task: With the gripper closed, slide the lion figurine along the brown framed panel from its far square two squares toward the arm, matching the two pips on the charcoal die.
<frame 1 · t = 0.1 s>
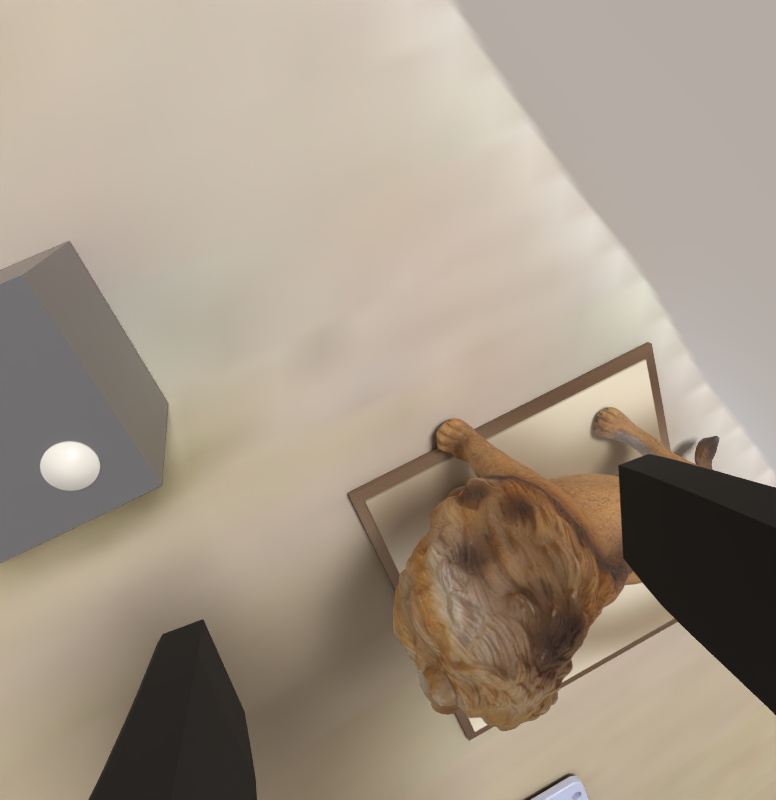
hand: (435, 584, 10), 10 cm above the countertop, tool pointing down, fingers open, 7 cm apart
brown framed panel: (548, 558, 24), on the countertop
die: (33, 366, 16), on the countertop
lion figurine: (521, 472, 22), resting on brown framed panel
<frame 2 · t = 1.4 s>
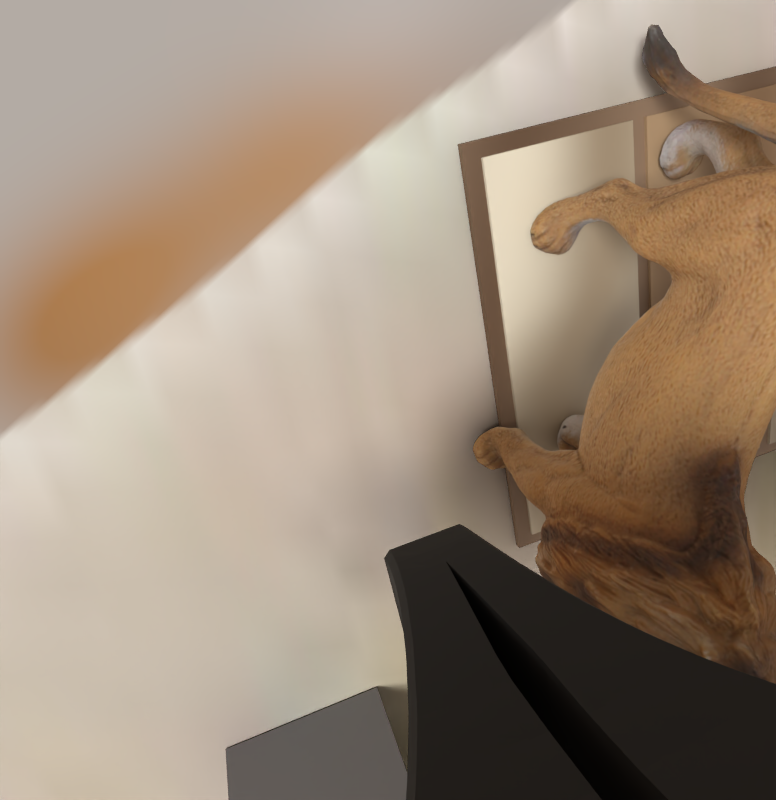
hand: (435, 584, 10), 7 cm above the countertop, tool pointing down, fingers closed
brown framed panel: (704, 305, 18), on the countertop
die: (322, 767, 21), on the countertop
lion figurine: (572, 349, 17), resting on brown framed panel
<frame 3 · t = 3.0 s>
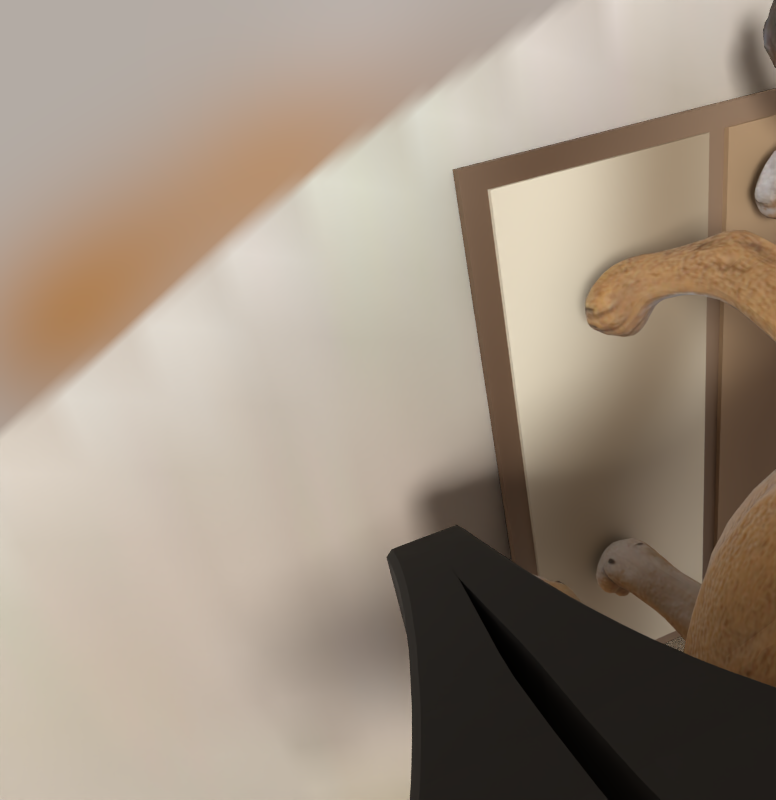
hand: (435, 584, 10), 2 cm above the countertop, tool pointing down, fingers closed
lion figurine: (620, 452, 12), resting on brown framed panel, touching gripper
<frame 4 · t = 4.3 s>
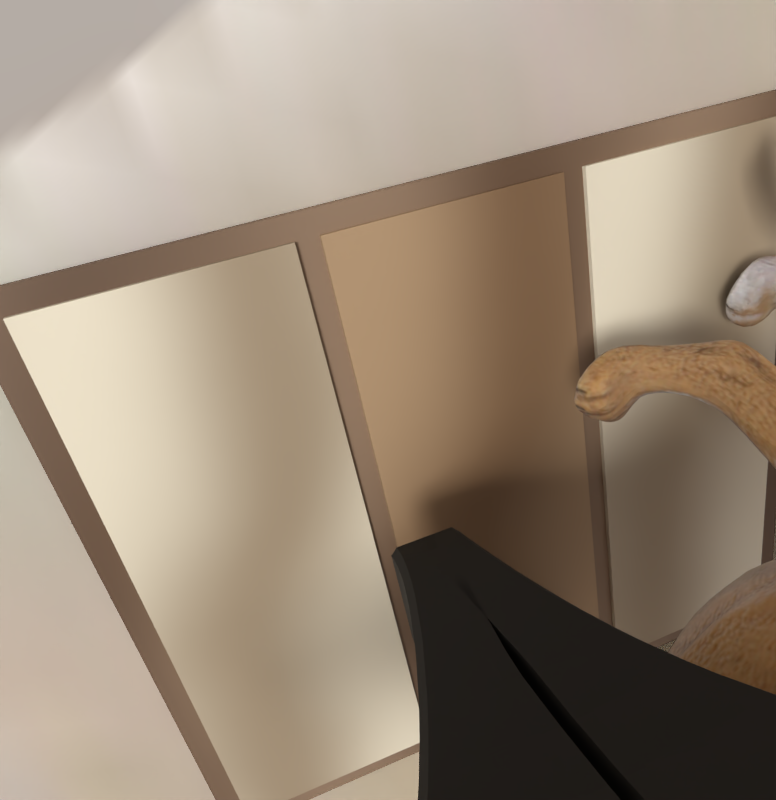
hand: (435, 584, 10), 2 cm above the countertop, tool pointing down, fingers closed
brown framed panel: (487, 490, 12), on the countertop
lion figurine: (563, 526, 12), point 1 cm above the countertop, touching brown framed panel, gripper
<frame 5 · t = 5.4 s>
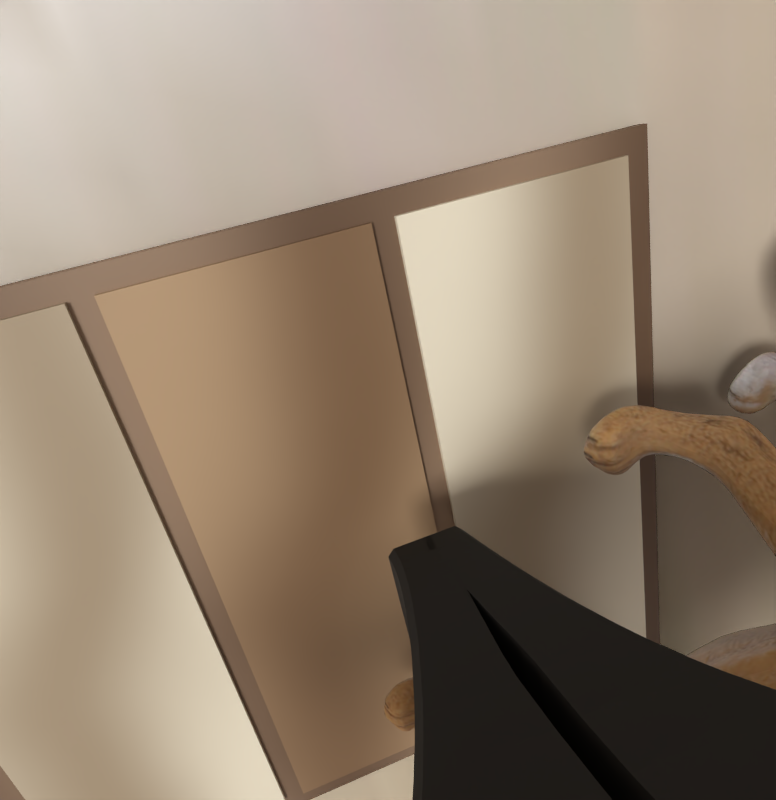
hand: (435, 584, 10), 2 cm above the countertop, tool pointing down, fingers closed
brown framed panel: (328, 548, 12), on the countertop
lion figurine: (543, 572, 13), point 1 cm above the countertop, touching brown framed panel, gripper
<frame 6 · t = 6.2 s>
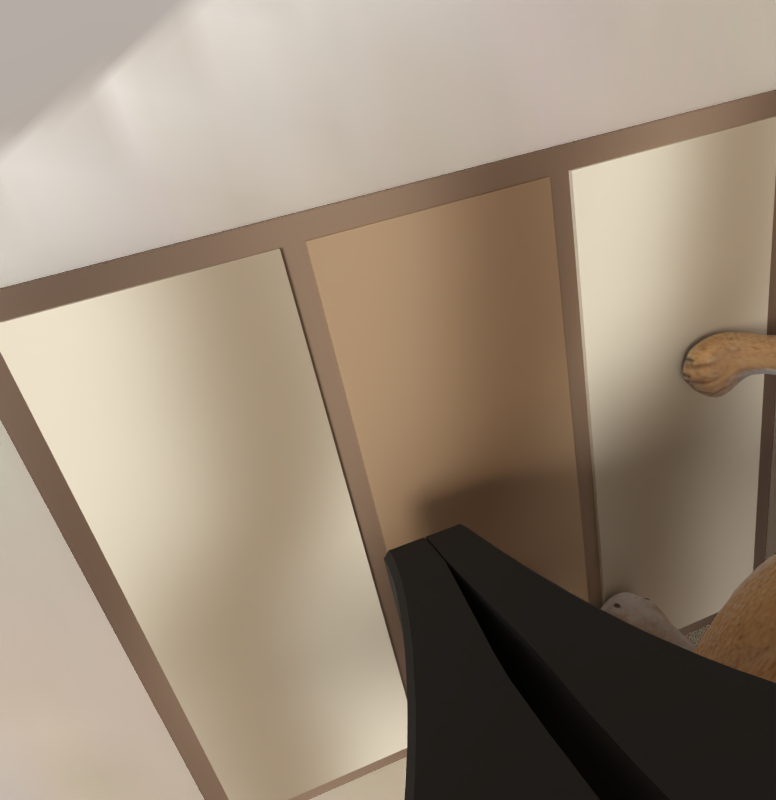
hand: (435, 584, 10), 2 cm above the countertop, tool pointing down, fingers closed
brown framed panel: (476, 494, 12), on the countertop
lion figurine: (656, 511, 14), resting on brown framed panel, touching gripper
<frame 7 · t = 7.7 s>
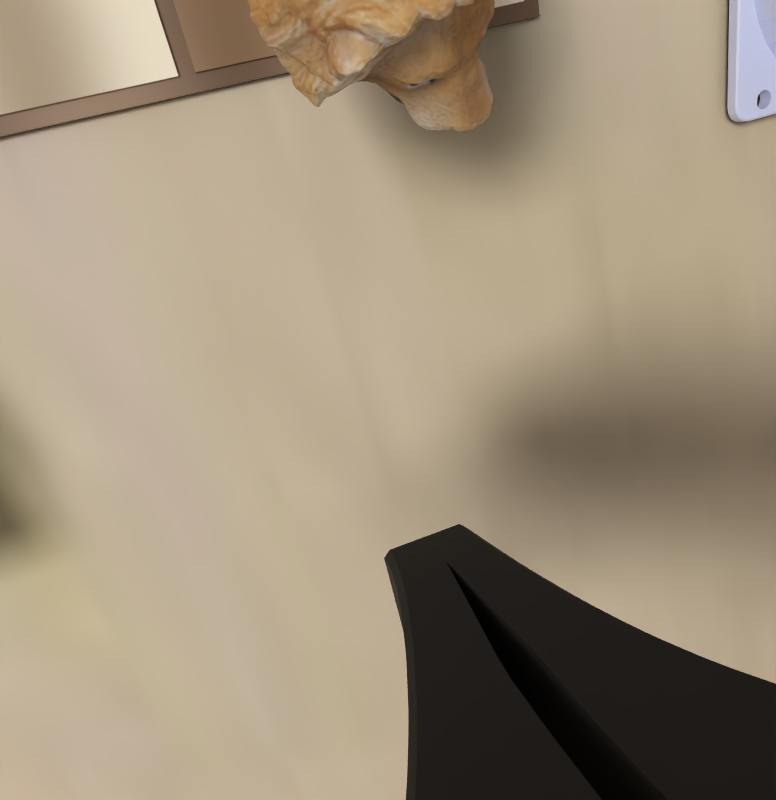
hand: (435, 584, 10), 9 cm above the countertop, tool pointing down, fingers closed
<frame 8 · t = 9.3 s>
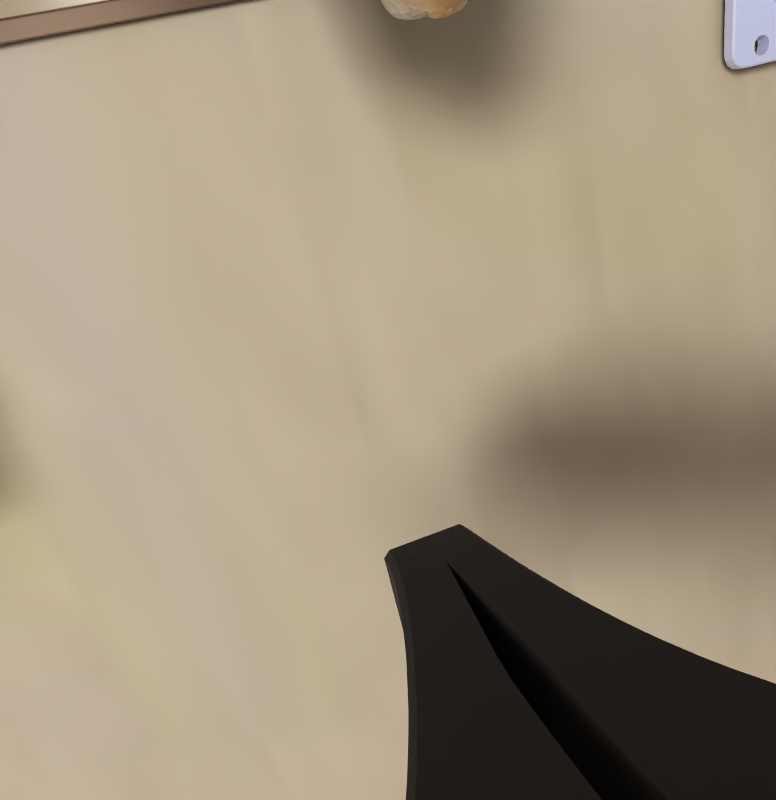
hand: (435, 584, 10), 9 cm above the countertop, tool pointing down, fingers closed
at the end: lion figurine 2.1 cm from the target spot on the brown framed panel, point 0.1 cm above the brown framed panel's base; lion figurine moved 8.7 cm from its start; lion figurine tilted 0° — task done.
